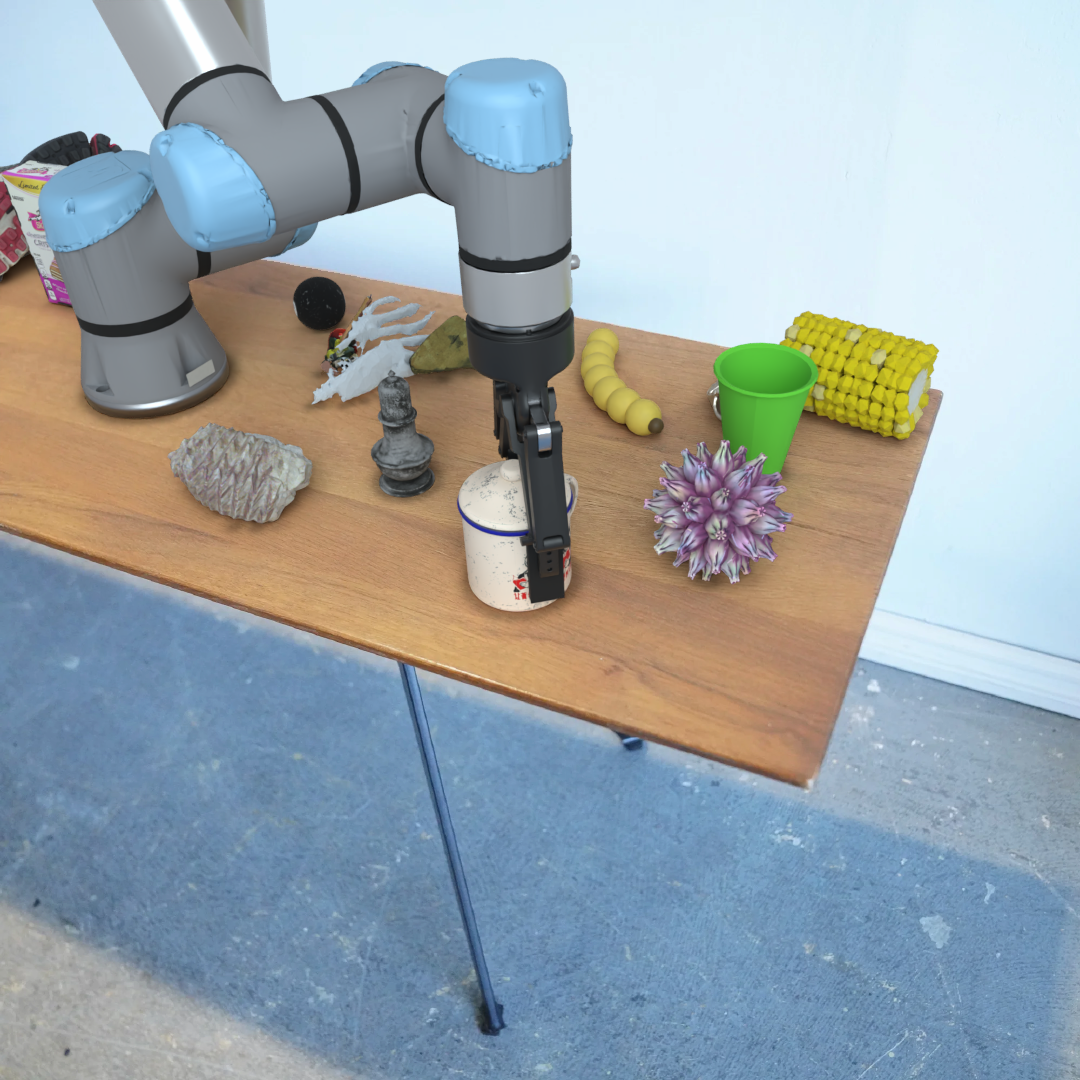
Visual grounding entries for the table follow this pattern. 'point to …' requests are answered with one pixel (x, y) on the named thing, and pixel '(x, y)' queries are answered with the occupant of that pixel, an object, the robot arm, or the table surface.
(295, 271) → the table surface
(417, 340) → the decorative object
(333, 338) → the toy figure
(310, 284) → the billiard ball
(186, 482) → the grey ridged fossil rock
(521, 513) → the teacup with lid
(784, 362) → the cup
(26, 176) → the candy bar box
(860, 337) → the food
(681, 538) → the flower
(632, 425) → the yellow segmented curved bar
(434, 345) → the stone
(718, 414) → the ornament
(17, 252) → the running shoe
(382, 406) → the grey carved upright piece
